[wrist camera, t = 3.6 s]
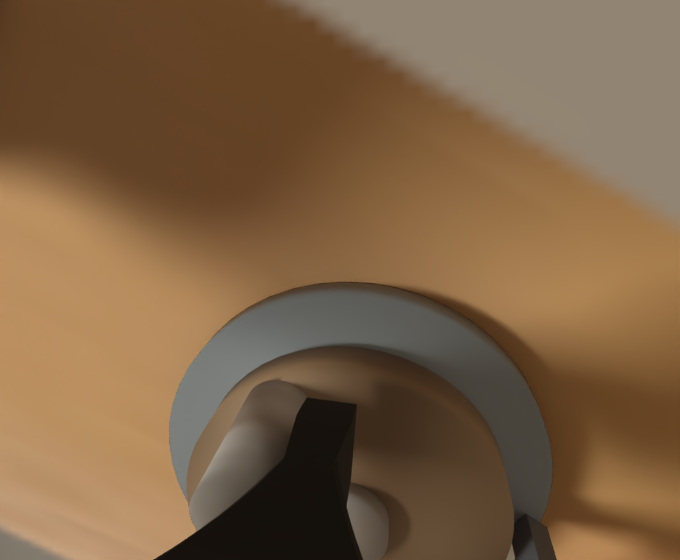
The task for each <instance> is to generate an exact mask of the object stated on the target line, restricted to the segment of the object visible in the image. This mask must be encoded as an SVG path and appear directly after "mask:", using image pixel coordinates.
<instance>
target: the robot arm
mask: <svg viewBox="0 0 680 560" xmlns="http://www.w3.org/2000/svg"><path fill="white" fill-rule="evenodd" d="M356 410H357V404H352V403H344V402H337V401H330V400H322V399H315V398H308V397H307V398H306V400H305V401H304V403H303V404H302V406H301V408H300V409H299V411H298V413H297V415H296V419H295V422H294V425H293V429H292V432H291V435H290V439H289V442H288V446H287V449H286V453H285V455H284V456H283V457H282V458H281V459H280V460H279V461H278V462H277V463H276V464H275V465H274V466H273V467H272V468H271V469H270V470H269V471H268V472H267V473H266V474H265V475H264V476H263V477H262V478H261V479H260V480H259V481H258V482H257V483H256V484H255V485H254V486H253V487H252V488H250V489H249V490H248V491H247V492H246V493H245V494H244V495H243V496H241V497H240V498H239V499H238V500H237V501H236V502H234V503H233V504H232V505H231V506H229V507H228V508H227V509H226V510H225V511H223V512H222V513H221V514H220V515H218V516H217V517H216V518H214V519H213V520H211V521H210V522H209V523H207V524H206V525H205V526H203V527H202V528H201V529H199V530H198V531H197V532H195V533H194V534H193V535H191V536H190V537H188V538H187V539H185V540H184V541H182V542H181V543H179V544H178V545H176V546H175V547H173V548H172V549H170V550H169V551H167V552H165V553H164V554H162V555H160V556H159V557H157V558H156V559H154V560H363V558H362V555H361V552H360V549H359V546H358V543H357V540H356V537H355V534H354V531H353V528H352V524H351V521H350V518H349V514H348V510H347V501H348V494H349V488H350V482H351V474H352V461H353V449H354V436H355V423H356Z"/></svg>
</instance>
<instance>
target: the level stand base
mask: <svg viewBox="0 0 680 560" xmlns="http://www.w3.org/2000/svg"><path fill="white" fill-rule="evenodd" d="M331 346H346V347H360V348H367V349H372V350H377V351H382V352H386V353H389V354H393V355H396V356H399V357H402V358H405V359H407V360H410V361H412V362H414V363H416V364H419V365H421V366H423V367H425V368H427V369H429V370H430V371H432V372H434V373H435V374H437V375H439V376H440V377H442V378H444V379H445V380H446V381H448V382H449V383H450V384H451V385H453V386H454V387H455V388H457V389H458V390H459V391H460V392H461V393H462V394H463V395H464V396H465V397H466V398H467V399H468V400H469V401H470V402H471V403H472V404H473V405H474V406H475V407H476V408H477V410H478V411H479V412H480V414H481V415H482V416H483V418H484V419H485V420H486V422H487V424H488V425H489V427H490V429H491V431H492V433H493V435H494V436H495V439H496V441H497V444H498V447H499V450H500V453H501V456H502V460H503V464H504V468H505V473H506V477H507V481H508V485H509V490H510V494H511V499H512V504H513V510H514V532H513V538H512V544H511V548H510V550H509V553H508V556H507V559H506V560H514V559H515V560H557V559H556V556H555V552H554V549H553V546H552V542H551V539H550V536H549V533H548V529H547V527H546V526H544V525H543V524H541V523H540V522H541V520H542V517H543V515H544V512H545V510H546V507H547V505H548V500H549V495H550V491H551V486H552V467H553V461H552V454H551V447H550V440H549V436H548V433H547V430H546V427H545V424H544V421H543V418H542V415H541V412H540V410H539V407H538V405H537V402H536V400H535V397H534V395H533V393H532V391H531V389H530V387H529V385H528V383H527V381H526V379H525V377H524V376H523V374H522V373H521V371H520V370H519V368H518V367H517V366H516V364H515V363H514V361H513V360H512V359H511V357H510V356H509V355H508V354H507V353H506V352H505V351H504V350H503V349H502V347H501V346H500V345H499V344H498V343H497V342H496V341H495V340H494V339H493V338H492V337H491V336H489V335H488V334H487V333H486V332H484V331H483V330H482V329H481V328H479V327H478V326H477V325H476V324H475V323H473V322H472V321H470V320H469V319H467V318H465V317H464V316H462V315H460V314H459V313H457V312H456V311H454V310H452V309H451V308H449V307H447V306H444V305H442V304H440V303H438V302H436V301H433V300H431V299H429V298H427V297H424V296H421V295H418V294H415V293H411V292H408V291H405V290H402V289H399V288H393V287H388V286H382V285H377V284H370V283H354V282H337V283H321V284H314V285H309V286H304V287H299V288H294V289H291V290H288V291H285V292H282V293H279V294H276V295H273V296H270V297H268V298H266V299H264V300H262V301H260V302H258V303H256V304H254V305H252V306H250V307H248V308H247V309H245V310H244V311H242V312H241V313H239V314H238V315H236V316H235V317H234V318H232V319H231V320H230V321H229V322H228V323H226V324H225V325H224V326H223V327H222V328H221V329H220V330H219V331H218V332H217V333H216V334H215V335H214V336H213V337H212V338H211V340H210V341H209V342H208V343H207V344H206V346H205V347H204V348H203V349H202V351H201V352H200V353H199V354H198V356H197V357H196V358H195V360H194V361H193V362H192V363H191V365H190V366H189V368H188V370H187V371H186V373H185V375H184V377H183V379H182V381H181V382H180V384H179V387H178V390H177V393H176V396H175V399H174V402H173V406H172V411H171V417H170V427H169V443H170V450H171V457H172V463H173V466H174V470H175V473H176V477H177V480H178V482H179V485H180V487H181V489H182V491H183V494H184V496H185V498H186V500H187V502H188V499H187V492H186V486H187V471H188V466H189V461H190V457H191V455H192V452H193V449H194V447H195V444H196V442H197V441H198V439H199V437H200V436H201V434H202V432H203V430H204V429H205V427H206V426H207V424H208V422H209V421H210V419H211V418H212V416H213V414H214V413H215V411H216V410H217V408H218V407H219V405H220V403H221V402H222V400H223V399H224V397H225V396H226V395H227V394H228V392H229V391H230V390H231V389H232V388H233V386H234V385H235V384H236V383H238V382H239V381H240V380H241V379H242V378H243V377H244V376H246V375H247V374H248V373H250V372H251V371H253V370H254V369H256V368H257V367H259V366H261V365H262V364H264V363H266V362H268V361H271V360H273V359H275V358H277V357H279V356H282V355H286V354H289V353H292V352H296V351H299V350H305V349H311V348H317V347H331Z"/></svg>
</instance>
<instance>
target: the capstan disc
mask: <svg viewBox="0 0 680 560" xmlns="http://www.w3.org/2000/svg"><path fill="white" fill-rule="evenodd" d="M307 397H308V398H315V399H322V400H330V401H337V402H344V403H352V404H357V410H356V423H355V436H354V449H353V461H352V474H351V482H350V488H349V494H348V501H347V510H348V514H349V518H350V521H351V524H352V528H353V531H354V534H355V537H356V540H357V543H358V546H359V549H360V552H361V555H362V558H363V560H506V559H507V556H508V553H509V550H510V548H511V544H512V538H513V532H514V510H513V504H512V499H511V494H510V490H509V485H508V481H507V477H506V473H505V468H504V464H503V460H502V456H501V453H500V450H499V447H498V444H497V441H496V439H495V436H494V435H493V433H492V431H491V429H490V427H489V425H488V424H487V422H486V420H485V419H484V418H483V416H482V415H481V414H480V412H479V411H478V410H477V408H476V407H475V406H474V405H473V404H472V403H471V402H470V401H469V400H468V399H467V398H466V397H465V396H464V395H463V394H462V393H461V392H460V391H459V390H458V389H457V388H455V387H454V386H453V385H451V384H450V383H449V382H448V381H446V380H445V379H444V378H442V377H440V376H439V375H437V374H435V373H434V372H432V371H430V370H429V369H427V368H425V367H423V366H421V365H419V364H416V363H414V362H412V361H410V360H407V359H405V358H402V357H399V356H396V355H393V354H389V353H386V352H382V351H377V350H372V349H367V348H360V347H346V346H331V347H317V348H311V349H305V350H299V351H296V352H292V353H289V354H286V355H282V356H279V357H277V358H275V359H273V360H271V361H268V362H266V363H264V364H262V365H261V366H259V367H257V368H256V369H254V370H253V371H251V372H250V373H248V374H247V375H246V376H244V377H243V378H242V379H241V380H240V381H239V382H238V383H236V384H235V385H234V386H233V388H232V389H231V390H230V391H229V392H228V394H227V395H226V396H225V397H224V399H223V400H222V402H221V403H220V405H219V407H218V408H217V410H216V411H215V413H214V414H213V416H212V418H211V419H210V421H209V422H208V424H207V426H206V427H205V429H204V430H203V432H202V434H201V436H200V437H199V439H198V441H197V442H196V444H195V447H194V449H193V452H192V455H191V457H190V461H189V466H188V471H187V486H186V492H187V499H188V506H189V513H190V517H191V520H192V522H193V524H194V526H195V528H196V530H197V531H198V530H199V529H201V528H202V527H203V526H205V525H206V524H207V523H209V522H210V521H211V520H213V519H214V518H216V517H217V516H218V515H220V514H221V513H222V512H223V511H225V510H226V509H227V508H228V507H229V506H231V505H232V504H233V503H234V502H236V501H237V500H238V499H239V498H240V497H241V496H243V495H244V494H245V493H246V492H247V491H248V490H249V489H250V488H252V487H253V486H254V485H255V484H256V483H257V482H258V481H259V480H260V479H261V478H262V477H263V476H264V475H265V474H266V473H267V472H268V471H269V470H270V469H271V468H272V467H273V466H274V465H275V464H276V463H277V462H278V461H279V460H280V459H281V458H282V457H283V456H284V455H285V453H286V449H287V446H288V442H289V439H290V435H291V432H292V429H293V425H294V422H295V419H296V415H297V413H298V411H299V409H300V408H301V406H302V404H303V403H304V401H305V400H306V398H307Z"/></svg>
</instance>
